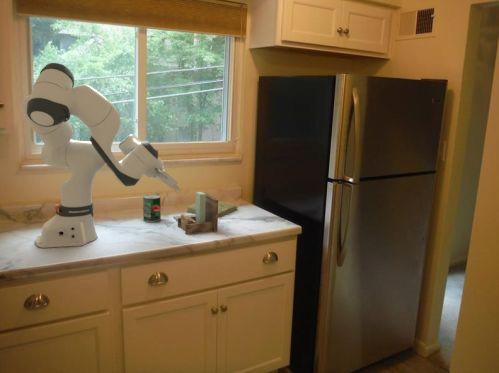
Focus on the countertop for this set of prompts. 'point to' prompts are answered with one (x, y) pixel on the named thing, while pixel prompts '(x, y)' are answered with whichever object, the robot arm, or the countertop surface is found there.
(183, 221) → the offcut stack
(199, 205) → the pale green block
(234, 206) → the decorative tile
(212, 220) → the walnut rack
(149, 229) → the countertop surface
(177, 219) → the grey mat
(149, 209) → the canned tomato
